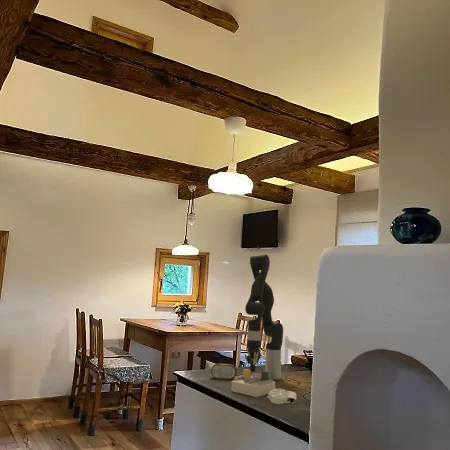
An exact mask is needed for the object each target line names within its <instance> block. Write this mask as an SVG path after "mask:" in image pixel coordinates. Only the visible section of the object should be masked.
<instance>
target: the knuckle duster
mask: <svg viewBox="0 0 450 450" xmlns="http://www.w3.org/2000/svg"><path fill="white" fill-rule="evenodd" d="M266 398H267V399H268V400H269V401H271V403H272V404H276V405H283V404H296V403H297V393H296V392H294V391H291V390H285V389H283V388H278V389H273V390H272V391H270V393H268V394H267V396H266ZM291 399H292V402H291Z"/></svg>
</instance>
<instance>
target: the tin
mask: <svg viewBox="0 0 450 450" xmlns="http://www.w3.org/2000/svg"><path fill="white" fill-rule="evenodd" d="M210 372H211V376H212V377H213V378H214V379H217V380H218V379H220V380H233V379H235V377H237V374H238V370H237V367H236V366H235V365H234V364H231V363H222V362H221V363H217V362H216V363H215V364H213V365H212V367H211V369H210Z"/></svg>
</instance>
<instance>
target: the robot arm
mask: <svg viewBox="0 0 450 450" xmlns="http://www.w3.org/2000/svg"><path fill="white" fill-rule="evenodd" d="M270 263H271V261H270V257H269V255H268V254H267V253H266V254H265V253H262V254H256V255H255V254H254V255H251V256H250V257H249V264H250V269H251V272H252V276H253V279H254V281H253V283H252V285H251V287H250V295H249V298H248V300H247V302H246V304H245V309H244V310H245V313H246V314H247V315H251V316H256V318H251V319H249V320H248V321H247V334H246V335H247V336H246V347H247V348H248V349H247V353H246V354H244V357H245V360H246V362H247V364H249V365H250V367H249V370H251V373H255V372H256V365H257V364H258V363H259V362H260V359H261V356H262V353H261V352H260V350H259V349H261V343H262V341H261V339H262V331H261V328H262V329H263V332H264V333H263V334H264V335H265V336H266V337H270V338H271V341H270V342H267V343H265V361H264V363H265V365H264V371H268V372H269V380H270V379H273V381H278V380H281V379H282V360H281V359H282V355H281V354H282V345H283V339H284V326H283V324H282V323H281V322H277V321H274V320H273V317H272V310H273V308H274V307H273V306H274V304H275V303H274V302H275V298H274V297H275V296H274V292H273V289H272V287H271V286H270V285H269V284H268V282H267V281H266V280H267V277H268V273H269V269H270Z"/></svg>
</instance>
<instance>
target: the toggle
mask: <svg viewBox="0 0 450 450" xmlns="http://www.w3.org/2000/svg"><path fill="white" fill-rule="evenodd" d="M260 378H261V380H260V381H266V380H270V379H269V372H268V371H265V370H261V376H260Z"/></svg>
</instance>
